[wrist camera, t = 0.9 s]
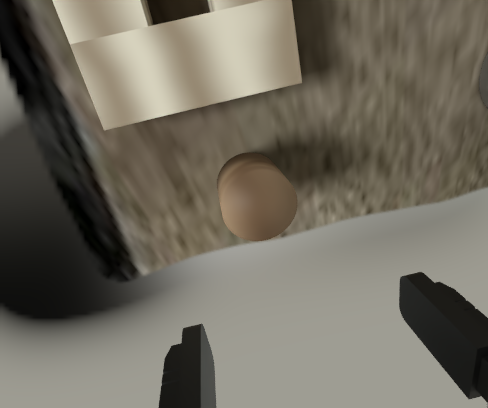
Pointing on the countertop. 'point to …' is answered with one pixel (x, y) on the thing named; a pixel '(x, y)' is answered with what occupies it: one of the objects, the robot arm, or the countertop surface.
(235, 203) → the walnut peg
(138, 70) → the birch block
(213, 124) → the countertop surface
